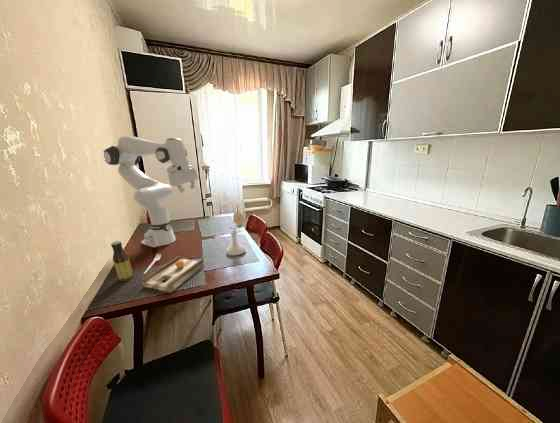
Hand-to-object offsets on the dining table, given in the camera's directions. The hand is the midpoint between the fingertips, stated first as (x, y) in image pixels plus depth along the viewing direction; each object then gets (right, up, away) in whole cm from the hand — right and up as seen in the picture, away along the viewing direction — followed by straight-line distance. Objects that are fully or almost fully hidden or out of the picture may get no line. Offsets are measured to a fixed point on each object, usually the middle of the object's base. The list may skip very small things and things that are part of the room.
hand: (188, 190), depth 137 cm
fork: (-17, -43, -7) cm, 47 cm away
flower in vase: (+29, -38, +2) cm, 47 cm away
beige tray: (+2, -45, -20) cm, 49 cm away
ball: (+3, -40, -17) cm, 43 cm away
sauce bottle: (-23, -47, -20) cm, 56 cm away
